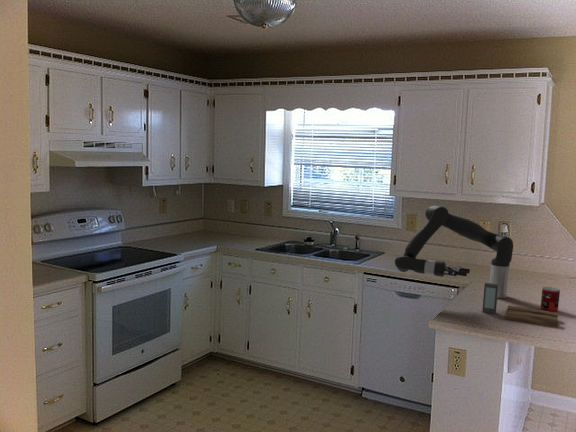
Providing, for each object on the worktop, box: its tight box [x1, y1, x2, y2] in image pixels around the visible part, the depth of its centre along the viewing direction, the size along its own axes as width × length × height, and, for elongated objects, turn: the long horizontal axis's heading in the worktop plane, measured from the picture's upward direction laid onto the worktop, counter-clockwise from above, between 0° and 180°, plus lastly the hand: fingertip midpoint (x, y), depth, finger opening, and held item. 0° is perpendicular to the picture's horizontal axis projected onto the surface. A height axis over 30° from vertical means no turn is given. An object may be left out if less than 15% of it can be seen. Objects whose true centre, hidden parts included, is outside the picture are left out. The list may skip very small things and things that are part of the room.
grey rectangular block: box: [481, 282, 498, 315], centre depth 277 cm, size 3×6×14 cm, turn 64°
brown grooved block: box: [504, 305, 559, 328], centre depth 268 cm, size 13×22×4 cm, turn 64°
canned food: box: [540, 286, 561, 313], centre depth 287 cm, size 8×8×11 cm
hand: (468, 272), depth 281 cm, fingers open, 8 cm apart
